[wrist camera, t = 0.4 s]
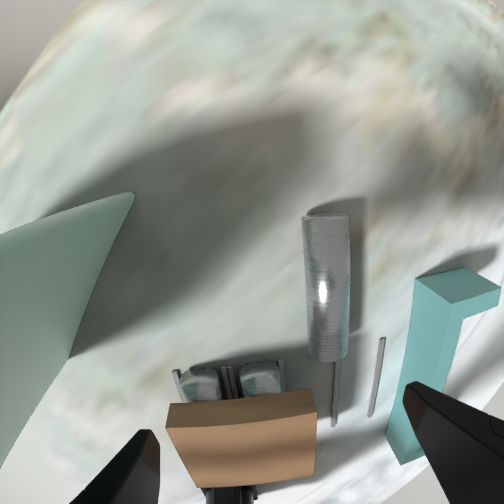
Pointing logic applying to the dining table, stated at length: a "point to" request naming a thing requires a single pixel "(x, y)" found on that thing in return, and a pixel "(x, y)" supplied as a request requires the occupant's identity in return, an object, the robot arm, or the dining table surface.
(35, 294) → the planter
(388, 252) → the dining table surface
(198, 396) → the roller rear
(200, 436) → the slab
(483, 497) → the robot arm
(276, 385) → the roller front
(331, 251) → the roller
